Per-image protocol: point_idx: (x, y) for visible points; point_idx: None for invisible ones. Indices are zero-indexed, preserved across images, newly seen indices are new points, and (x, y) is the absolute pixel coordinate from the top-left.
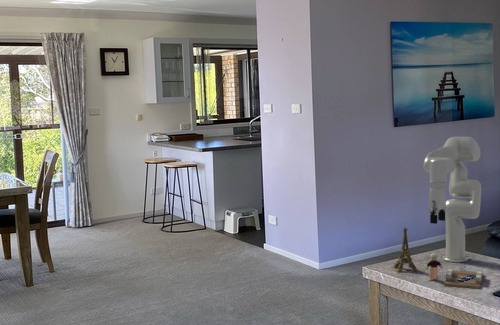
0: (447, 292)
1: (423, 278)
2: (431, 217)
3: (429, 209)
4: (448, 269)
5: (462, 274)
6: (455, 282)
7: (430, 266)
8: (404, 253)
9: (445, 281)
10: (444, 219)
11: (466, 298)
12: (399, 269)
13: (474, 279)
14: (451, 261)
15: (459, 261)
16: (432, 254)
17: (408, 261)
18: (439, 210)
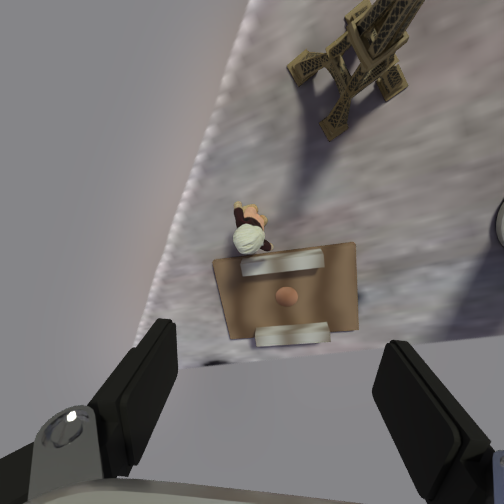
0: (167, 279)
1: (255, 185)
2: (105, 383)
3: (41, 496)
4: (305, 256)
5: (319, 285)
6: (233, 286)
7: (244, 217)
8: (352, 44)
9: (229, 261)
10: (377, 404)
11: (152, 323)
12: (298, 66)
13: (282, 321)
14: (499, 211)
15: (500, 238)
16: (235, 238)
17: (341, 84)
18: (489, 489)
